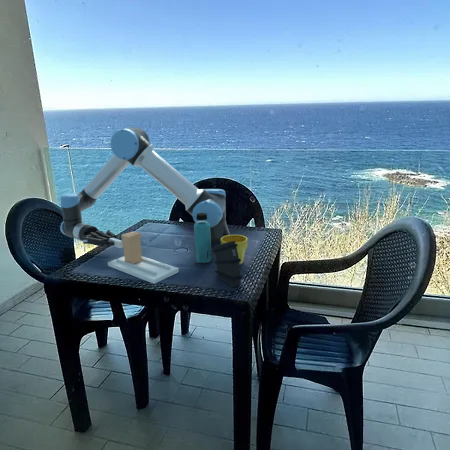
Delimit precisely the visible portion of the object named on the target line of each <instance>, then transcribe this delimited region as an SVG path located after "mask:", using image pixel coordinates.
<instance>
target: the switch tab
mask: <svg viewBox="0 0 450 450" xmlns="http://www.w3.org/2000/svg"><path fill="white" fill-rule="evenodd" d="M120 236H121V237H120V238H121V239H122V241H123V256H124V257H125V261H126V262H129V263H132V264H135V263H137V262H140V261H142V256H143V253H142V252H143V251H142V241H141V237H142V233H140V232H137V231H133V230H132V231H129V232H126V233H123V234H120Z"/></svg>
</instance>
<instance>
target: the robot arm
mask: <svg viewBox="0 0 450 450" xmlns="http://www.w3.org/2000/svg"><path fill="white" fill-rule="evenodd" d="M110 148H111V151H112V153H113V155H112V157H110V159H108V161H107V162H106V163H105V164H104V165H103V166H102V167H101V168H100V170H99V171H98V172H97V173H96V174H95V175H94V176H93V178H92V179H90V180H89V182H88V183H87V184H86V185H85V186H84V188H82V190H81V191H80V192H79V193H77V192H74V193H73V192H69V193H67V192H66V193H63V194H61V195H60V197H59V198H60V209H61V214H62V222H61V223H60V226H59V228H60V229H59V230H60V232H61V233H62V234H63V235H65V237H68V238H72V239H75V240H78V241H80V242H82V244H84V245H93V246H99V247H104V246H105V247H106V248H109V247H110V246H112V247H115V248H118V249H124V247H123V240H120V239H118V236H117V234H115V233H114V232H111V230H110V229H108V230H106V231H103V230H99V229H98V228H97V227H96V226H93V225H92V224H88V223H84V222H83V218H82V217H83V216H82V212H83V211H85V210H87V209H89V208H91V207H93V206H94V205H95V204H96V202H97V200H98V198H100V197H101V195H102V194H103V193H104V192H105V191H106V190H107V189H108V188H109V186H111V184H112V183H113V182H115V180H116V179H117V178H118V177H119V176H120V175H121V174H122V173H123V172H124V171H125V169H127V167H128V166H130V165H132V167H135V168H136V167H137V168H138V167H140V168H141V169H142V170H143V171H144V172H145V173H146V174H148V175H149V176H150V177H152V178H153V179H154V180H155V181H156V182H158V183H159V184H160V185H161V186H162V187H164V188H165V189H166V190H167V191H168V192H169V193H170V194H171V195H173V196H174V197H175V198H177V200H179V201H180V202H181V203H182V204H183V205H184V207H185V211H186V212H187V213H189V214H190V215H191V217H192V219H193V221H194V222H195V223H196V222H198V221H207V222H208V223H209V224H210V232H211V233H210V234H211V244H218V243H220V244H221V238H222V237H224V236H227V235H231V234H230V231H229V227H228V224H227V219H226V217H227V214H226V213H227V212H226V211H227V210H226V208H227V207H226V206H227V205H226V203H227V201H226V197H227V196H226V195H227V194H226V190H224V189H221V188H200V189H199V188H198V187H197V186H196V185H194V184H193V182H192V181H190V180H188V179H187V178H186V177H185V175H183V174H181V172H179V171H178V170H177V169H176V168H175V167H173V166H172V165H171V164H170V163H169V162H168V161H167V160H165V159H164V158H163V157H162V156H161V155H160V154H158V153H157V152H156V151H155V150H154V145H153V143H151V141H150V137H149V135H148V133H147V132H146V131H145V130H143V129H142V128H141V127H136V126H134V127H122V128H119V129H118V130H116V131H115V132H114V133H113V135H112V136H111V138H110ZM197 213H206V214H207V220H197V219H196V215H197ZM195 223H194V224H195Z"/></svg>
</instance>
